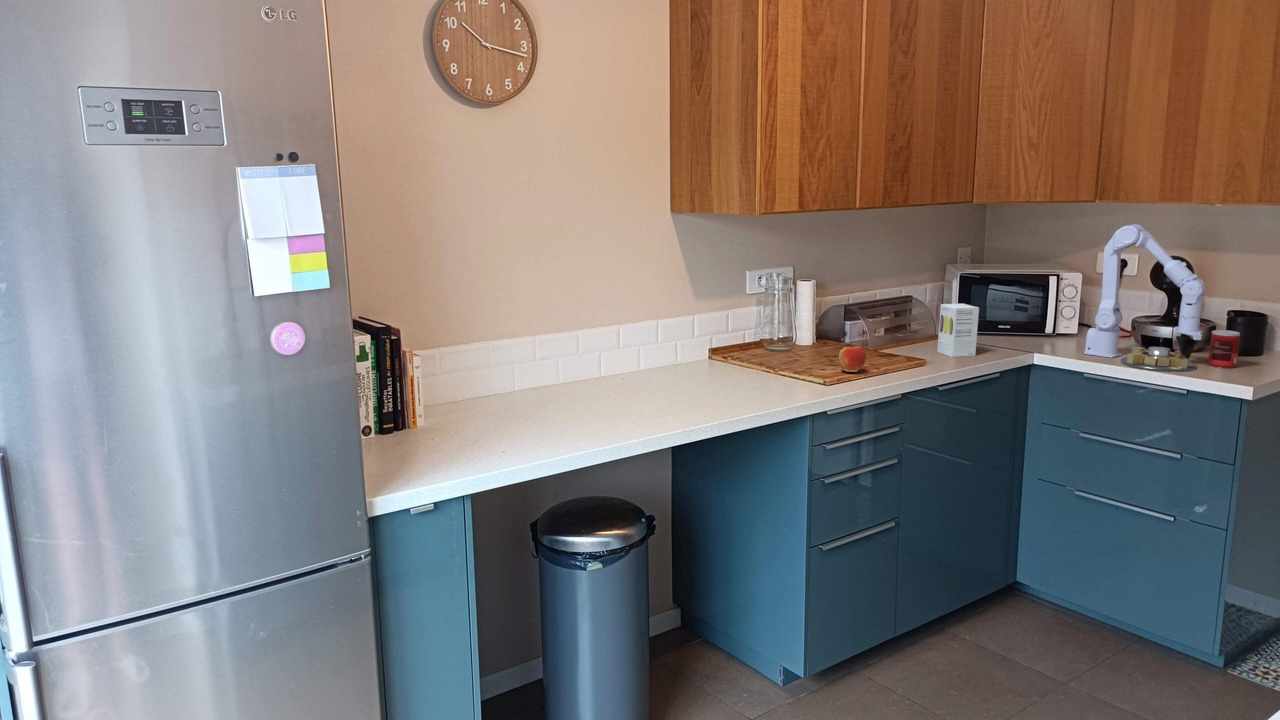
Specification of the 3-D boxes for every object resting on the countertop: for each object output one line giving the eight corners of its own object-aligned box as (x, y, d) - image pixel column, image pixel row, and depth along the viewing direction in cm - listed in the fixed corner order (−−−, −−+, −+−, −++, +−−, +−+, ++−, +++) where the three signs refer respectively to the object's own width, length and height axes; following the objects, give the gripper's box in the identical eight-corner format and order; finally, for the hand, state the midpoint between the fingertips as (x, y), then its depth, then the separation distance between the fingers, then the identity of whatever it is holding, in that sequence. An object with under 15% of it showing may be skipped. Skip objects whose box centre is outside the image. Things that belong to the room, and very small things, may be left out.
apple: (845, 376, 279) (846, 344, 277) (833, 370, 286) (835, 339, 284) (869, 374, 280) (870, 342, 278) (857, 369, 288) (858, 338, 286)
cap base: (1109, 364, 294) (1111, 348, 293) (1139, 355, 308) (1141, 339, 307) (1180, 374, 278) (1182, 357, 277) (1208, 364, 292) (1210, 348, 291)
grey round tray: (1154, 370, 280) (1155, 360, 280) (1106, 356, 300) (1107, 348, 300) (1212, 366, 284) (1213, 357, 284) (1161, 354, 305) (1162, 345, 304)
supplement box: (936, 352, 315) (939, 303, 311) (959, 350, 317) (963, 302, 314) (952, 357, 306) (955, 307, 302) (976, 356, 308) (979, 306, 305)
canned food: (1227, 363, 294) (1232, 330, 292) (1241, 368, 286) (1245, 334, 284) (1202, 363, 295) (1206, 329, 292) (1215, 368, 287) (1219, 334, 285)
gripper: (1214, 320, 282) (1209, 363, 285) (1193, 313, 296) (1188, 354, 299) (1189, 320, 283) (1184, 362, 286) (1169, 313, 297) (1165, 354, 300)
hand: (1185, 358), depth 293 cm, fingers closed, pressing on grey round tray
